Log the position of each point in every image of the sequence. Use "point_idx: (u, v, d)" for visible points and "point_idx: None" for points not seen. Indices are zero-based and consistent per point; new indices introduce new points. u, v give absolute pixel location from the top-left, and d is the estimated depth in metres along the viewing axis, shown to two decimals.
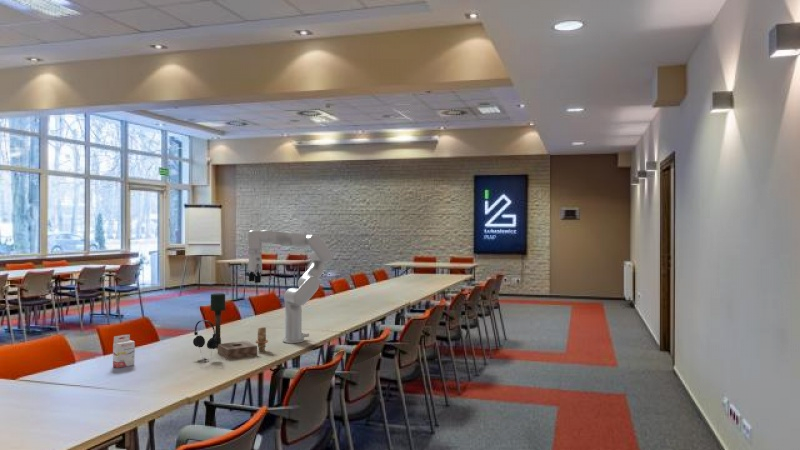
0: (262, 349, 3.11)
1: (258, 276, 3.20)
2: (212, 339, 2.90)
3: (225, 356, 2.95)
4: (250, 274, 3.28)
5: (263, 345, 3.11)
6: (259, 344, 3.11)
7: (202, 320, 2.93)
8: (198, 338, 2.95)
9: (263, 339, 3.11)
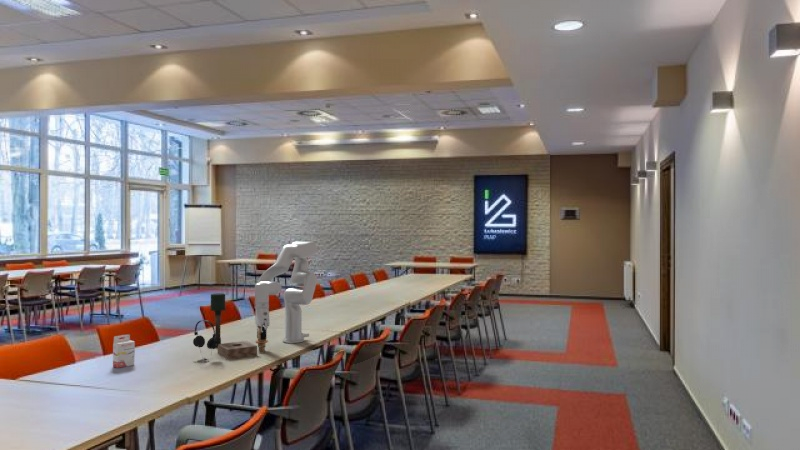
0: (262, 349, 3.11)
1: (264, 333, 3.10)
2: (212, 339, 2.90)
3: (225, 356, 2.95)
4: None
5: (263, 345, 3.11)
6: (259, 344, 3.11)
7: (202, 320, 2.93)
8: (198, 338, 2.95)
9: None
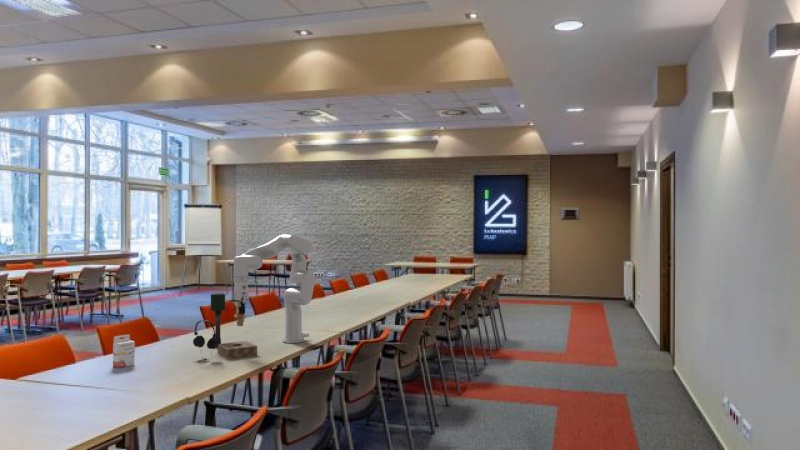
0: (240, 324, 3.03)
1: (242, 307, 3.02)
2: (212, 339, 2.90)
3: (225, 356, 2.95)
4: None
5: (241, 320, 3.03)
6: (237, 319, 3.03)
7: (202, 320, 2.93)
8: (198, 338, 2.95)
9: None
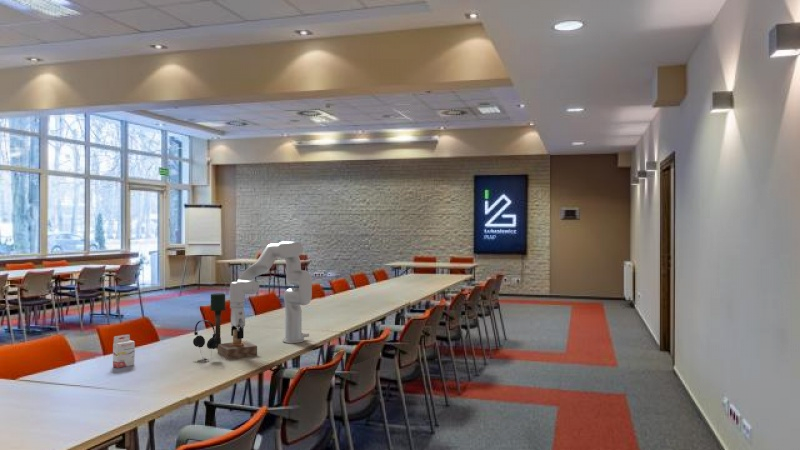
0: None
1: (241, 332, 2.99)
2: (212, 339, 2.90)
3: (225, 356, 2.95)
4: (232, 328, 3.07)
5: None
6: None
7: (202, 320, 2.93)
8: (198, 338, 2.95)
9: (238, 342, 3.02)
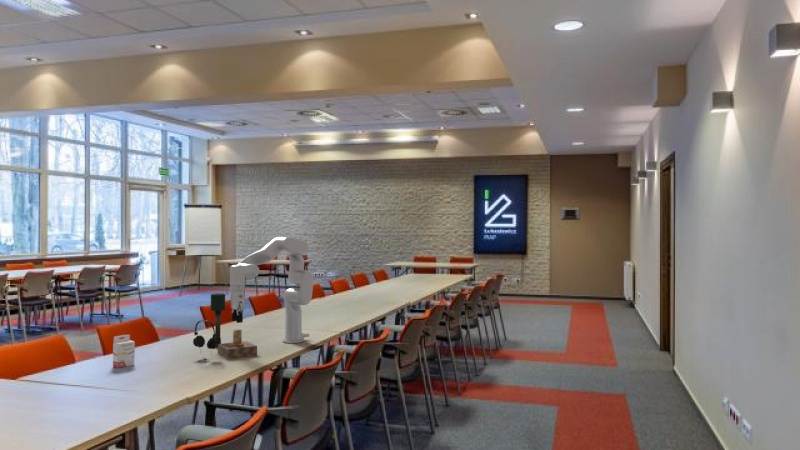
0: None
1: (240, 316, 3.00)
2: (212, 339, 2.90)
3: (225, 356, 2.95)
4: (233, 313, 3.06)
5: None
6: None
7: (202, 320, 2.93)
8: (198, 338, 2.95)
9: (238, 342, 3.02)
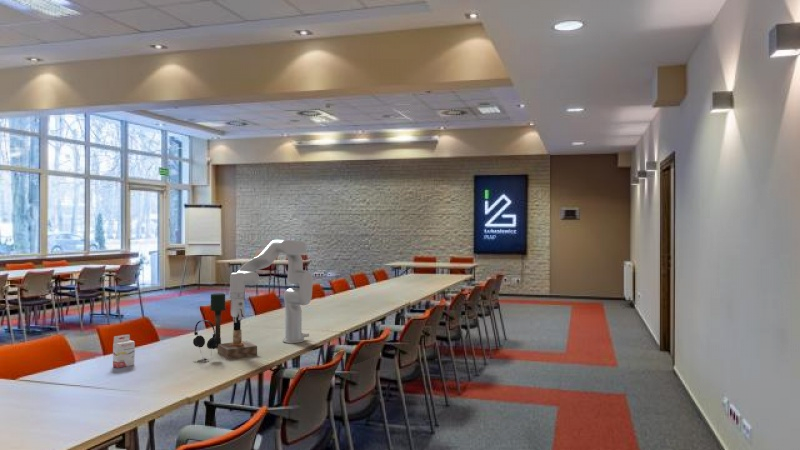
0: None
1: (238, 323, 3.03)
2: (212, 339, 2.90)
3: (225, 356, 2.95)
4: None
5: None
6: None
7: (202, 320, 2.93)
8: (198, 338, 2.95)
9: (238, 342, 3.02)
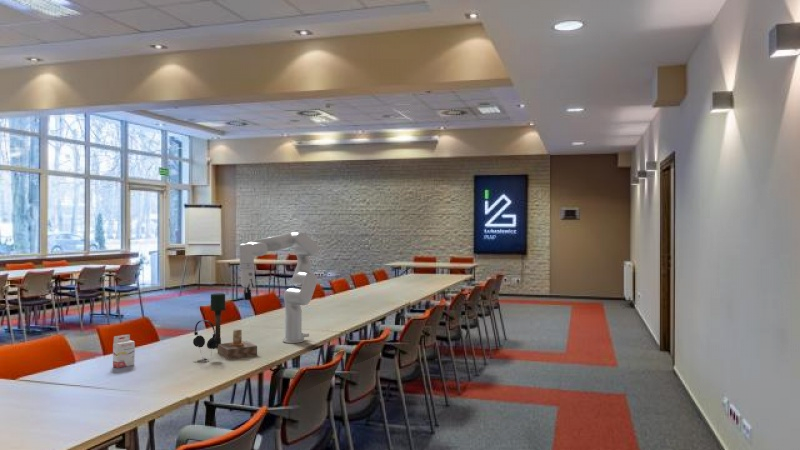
0: None
1: (248, 293, 3.10)
2: (212, 339, 2.90)
3: (225, 356, 2.95)
4: None
5: None
6: None
7: (202, 320, 2.93)
8: (198, 338, 2.95)
9: (238, 342, 3.02)
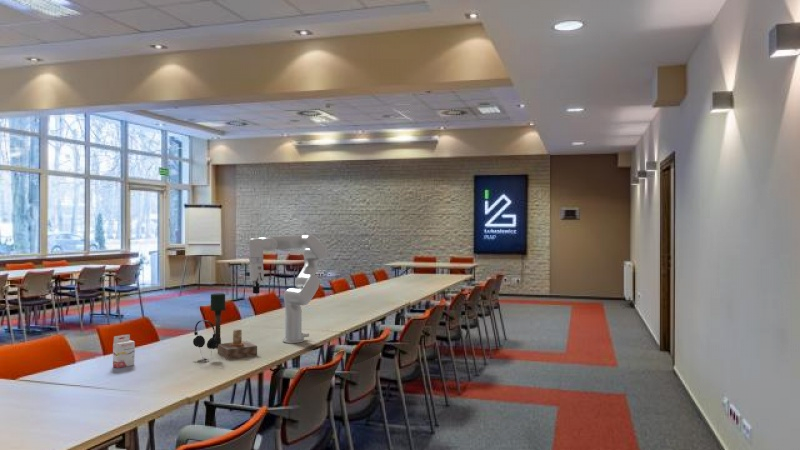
0: None
1: (257, 287, 3.16)
2: (212, 339, 2.90)
3: (225, 356, 2.95)
4: None
5: None
6: None
7: (202, 320, 2.93)
8: (198, 338, 2.95)
9: (238, 342, 3.02)
